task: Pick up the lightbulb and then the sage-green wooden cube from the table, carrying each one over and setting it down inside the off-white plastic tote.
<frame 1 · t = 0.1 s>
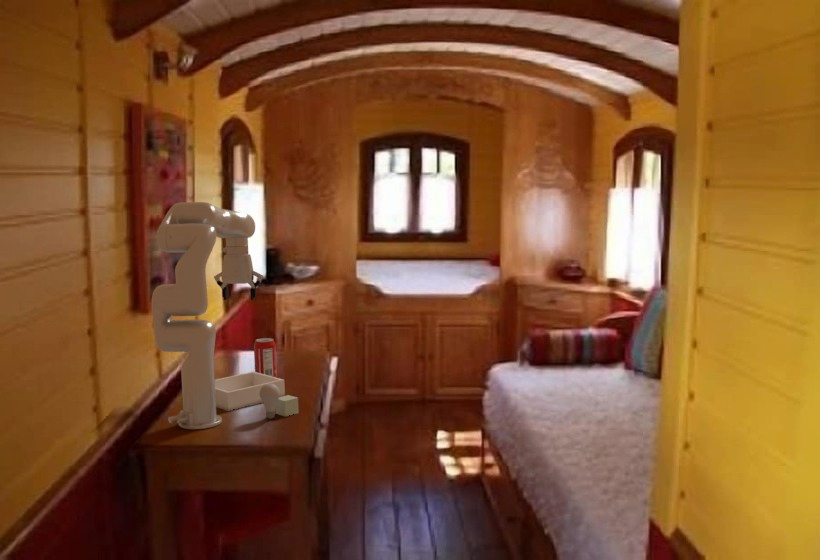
hand: (239, 299, 278), 31 cm above the table, tool pointing down, fingers open, 9 cm apart
sage cube: (287, 413, 246), on the table
soda can: (266, 380, 290), on the table
lightbulb: (270, 419, 241), on the table
tote: (242, 399, 264), on the table
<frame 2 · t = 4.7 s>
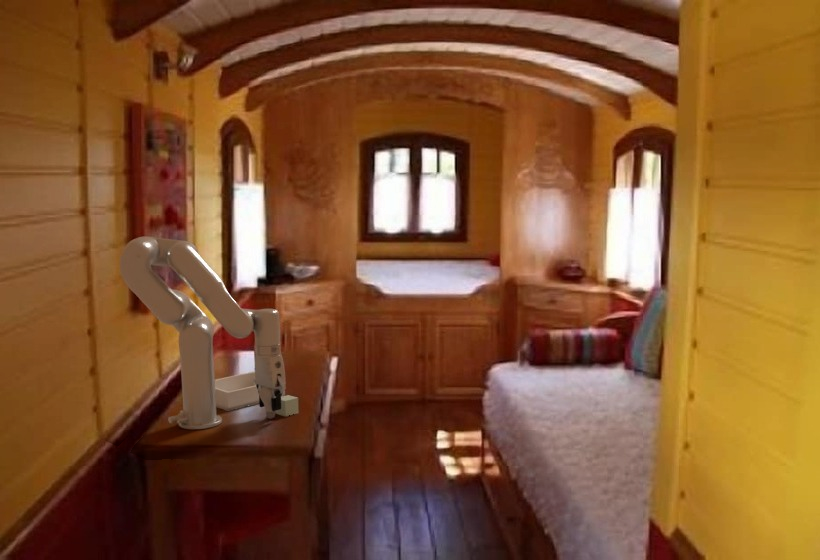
hand: (270, 407, 240), 4 cm above the table, tool pointing down, fingers closed on lightbulb, 5 cm apart
lightbulb: (270, 419, 241), on the table, touching gripper
everything else where it was.
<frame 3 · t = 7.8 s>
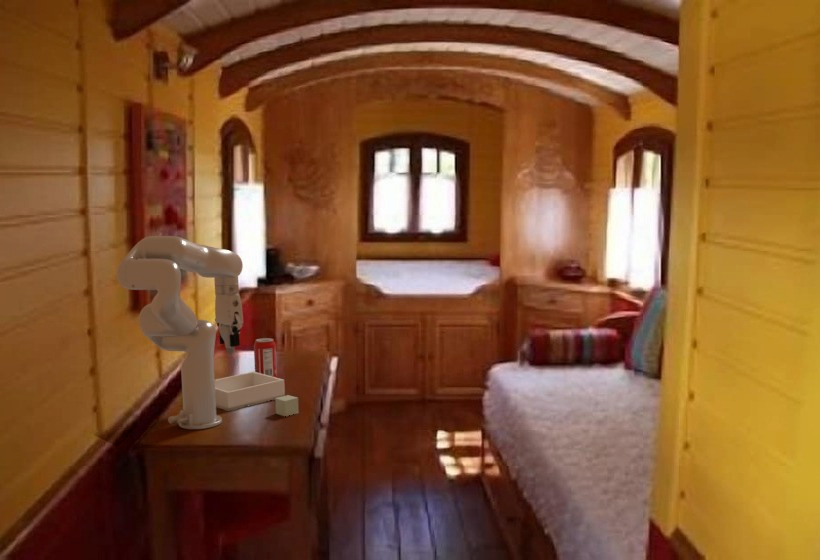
hand: (229, 344, 257), 20 cm above the table, tool pointing down, fingers closed on lightbulb, 5 cm apart
lightbulb: (230, 355, 257), point 16 cm above the table, touching gripper
everything else where it was.
when the fingers open (6 cm above the table, at t = 11.0 s): lightbulb drops 2 cm, resting on tote.
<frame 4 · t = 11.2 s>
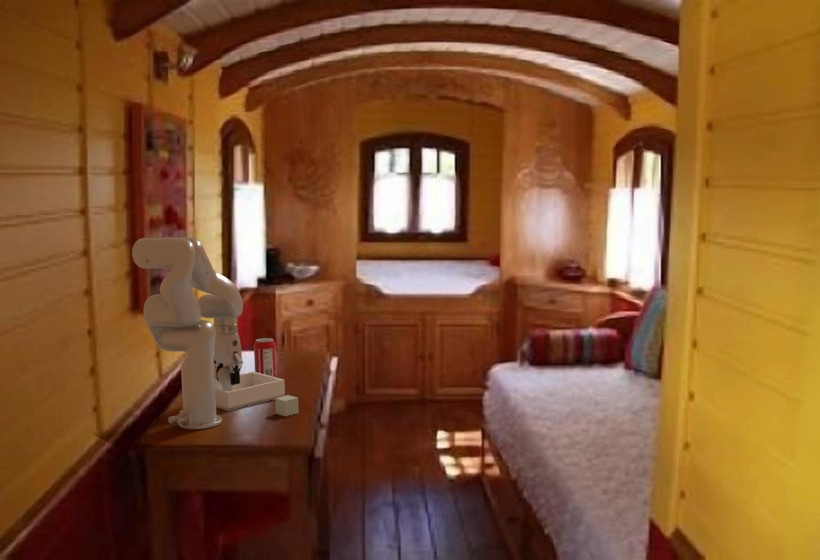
hand: (228, 381, 259), 7 cm above the table, tool pointing down, fingers open, 7 cm apart
lightbulb: (228, 398, 261), point 1 cm above the table, touching tote
everything else where it was.
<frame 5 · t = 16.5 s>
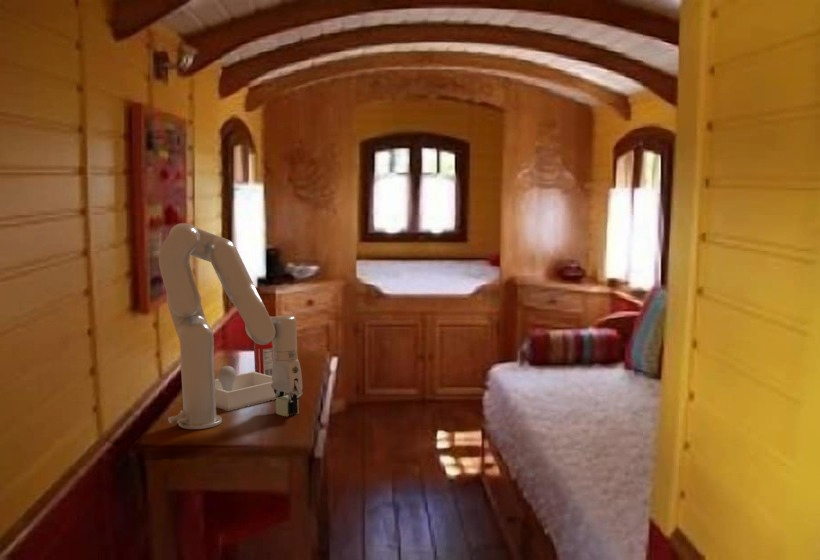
hand: (287, 411, 246), 0 cm above the table, tool pointing down, fingers closed on sage cube, 5 cm apart
sage cube: (287, 413, 246), on the table, touching gripper
everything else where it was.
when the fingers open (3 cm above the table, at t = 23.5 s): sage cube drops 1 cm, resting on tote.
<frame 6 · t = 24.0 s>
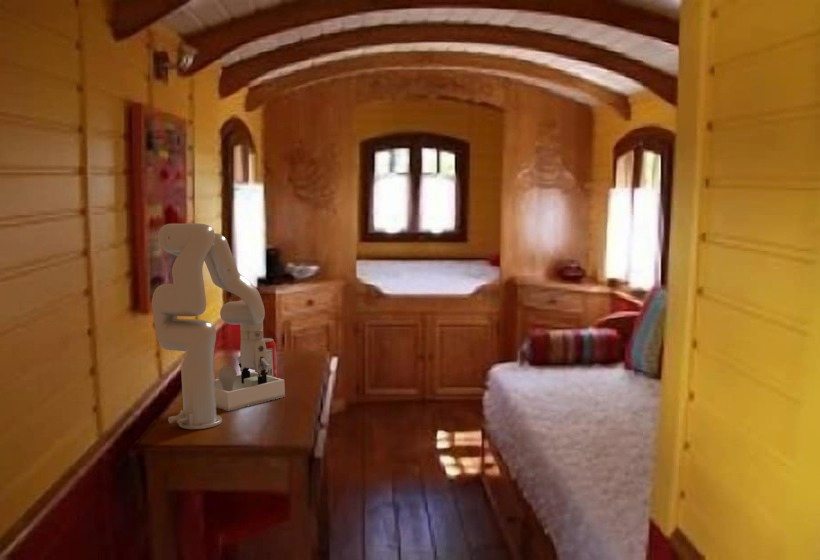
hand: (254, 385, 267), 4 cm above the table, tool pointing down, fingers open, 9 cm apart
sage cube: (254, 393, 267), point 1 cm above the table, touching tote
everything else where it was.
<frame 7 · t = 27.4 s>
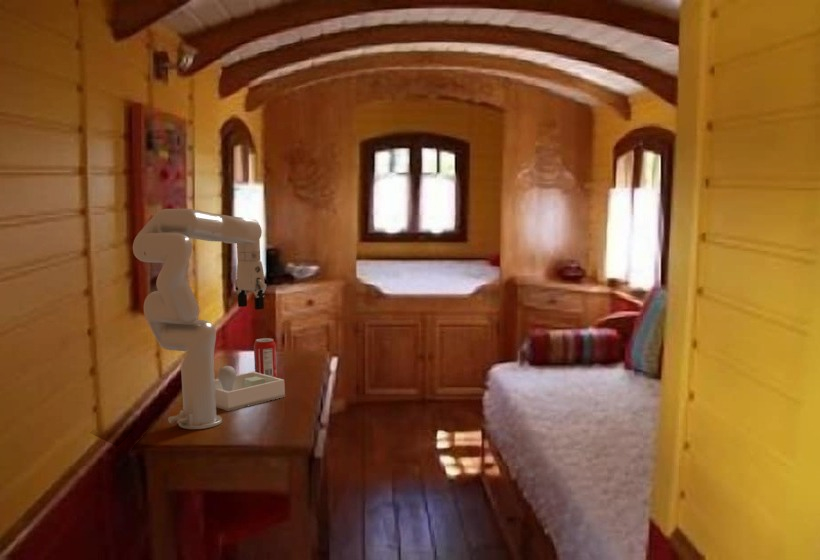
hand: (250, 307, 264), 30 cm above the table, tool pointing down, fingers open, 9 cm apart
nothing on the table moved.
at the end: lightbulb inside the target area on the tote (4.9 cm from its centre), point 0.8 cm above the tote's base; sage cube inside the target area on the tote (5.0 cm from its centre), point 1.0 cm above the tote's base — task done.
